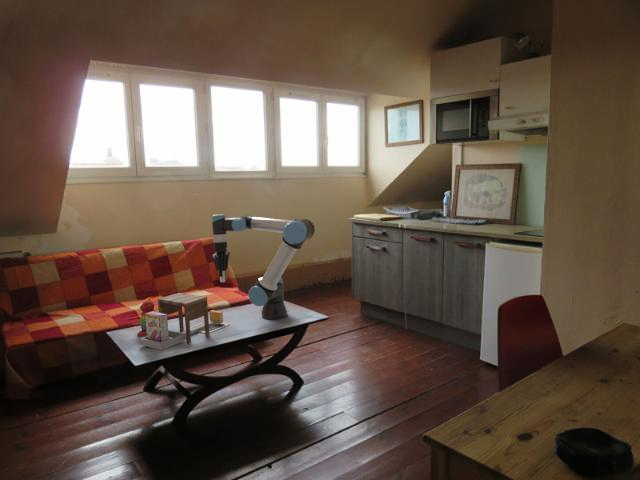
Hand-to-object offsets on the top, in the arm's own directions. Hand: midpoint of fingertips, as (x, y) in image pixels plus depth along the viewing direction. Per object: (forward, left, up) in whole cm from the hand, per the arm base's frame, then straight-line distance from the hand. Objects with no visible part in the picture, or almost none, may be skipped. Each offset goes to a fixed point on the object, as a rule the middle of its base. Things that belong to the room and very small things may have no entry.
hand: (222, 281), depth 261 cm
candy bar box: (-1, +48, -22) cm, 53 cm away
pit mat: (-3, +16, -22) cm, 27 cm away
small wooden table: (-3, +32, -22) cm, 39 cm away
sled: (-3, +31, -21) cm, 37 cm away
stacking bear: (+19, +37, -22) cm, 48 cm away
